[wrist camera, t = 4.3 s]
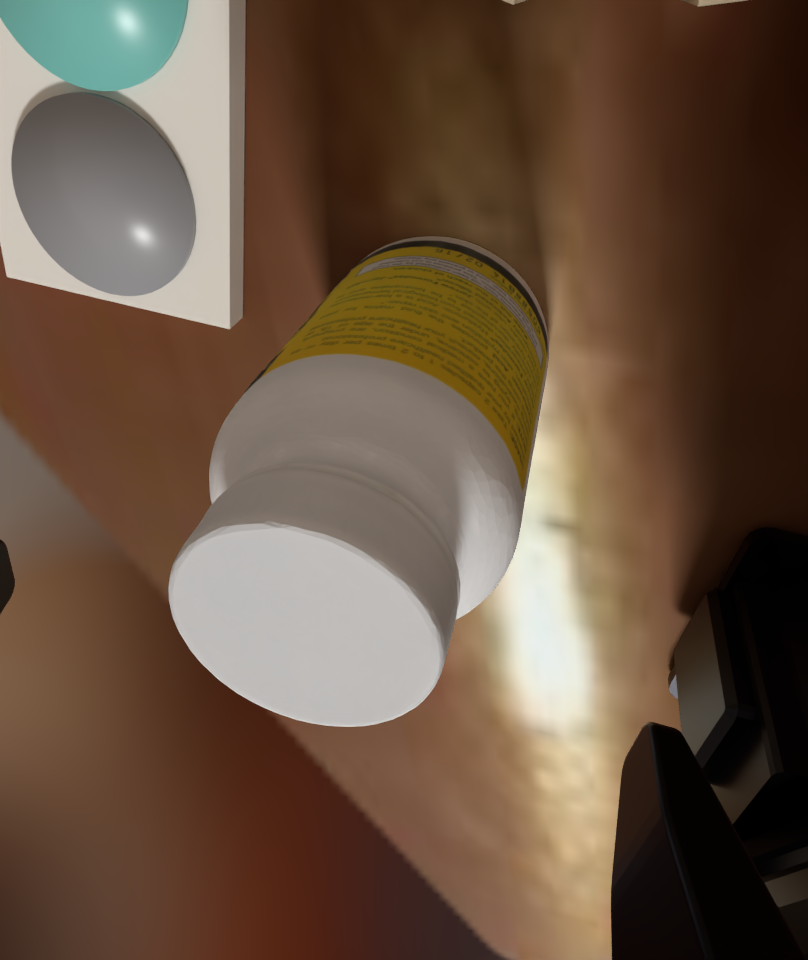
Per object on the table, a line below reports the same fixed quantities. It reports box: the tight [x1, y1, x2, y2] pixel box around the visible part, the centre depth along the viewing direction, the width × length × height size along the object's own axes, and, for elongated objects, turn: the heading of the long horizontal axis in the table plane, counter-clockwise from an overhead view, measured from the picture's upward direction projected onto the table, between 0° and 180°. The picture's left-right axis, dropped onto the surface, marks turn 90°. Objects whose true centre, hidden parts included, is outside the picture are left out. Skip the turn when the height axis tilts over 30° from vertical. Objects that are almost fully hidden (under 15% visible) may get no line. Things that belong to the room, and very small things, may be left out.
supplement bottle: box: [168, 236, 549, 727], centre depth 14 cm, size 5×5×10 cm
